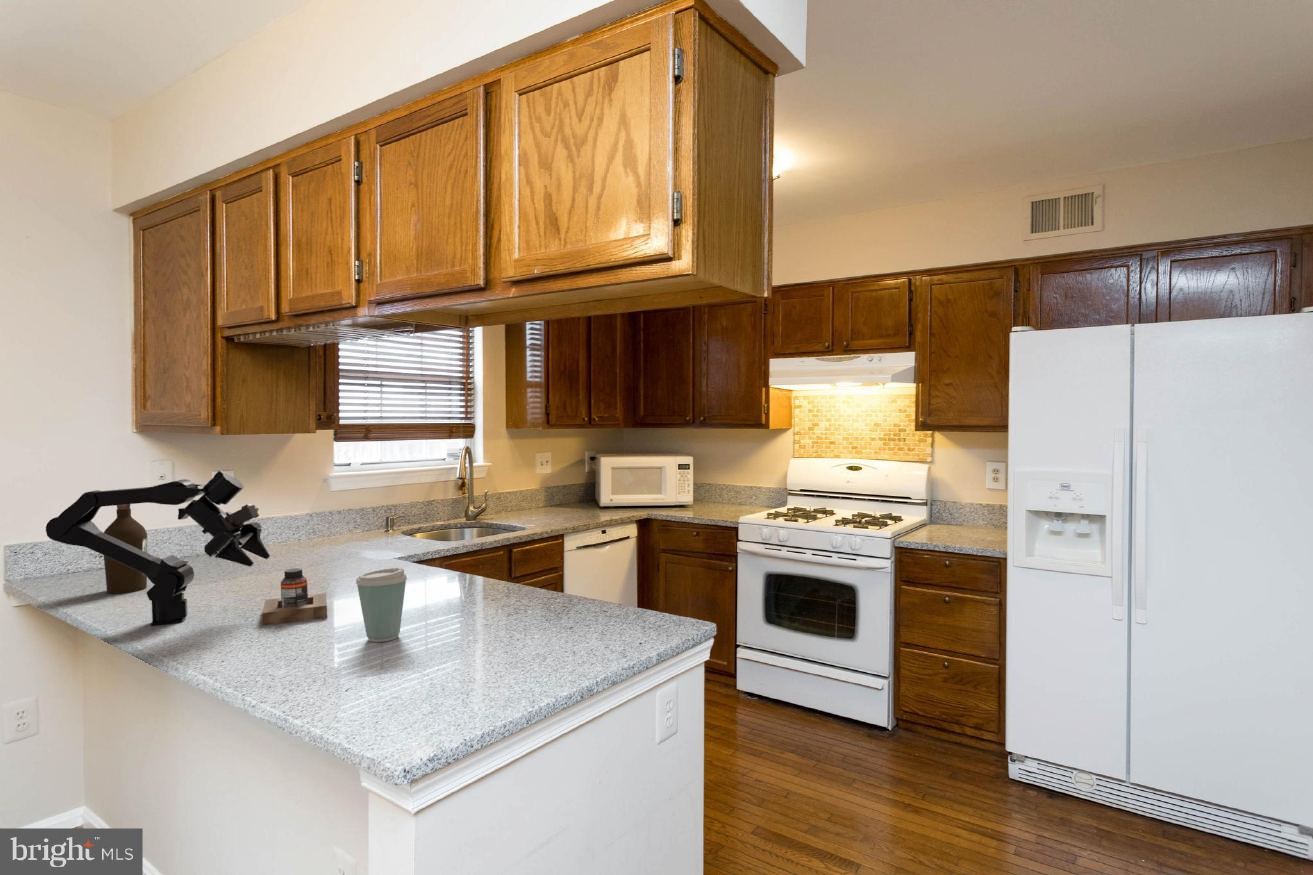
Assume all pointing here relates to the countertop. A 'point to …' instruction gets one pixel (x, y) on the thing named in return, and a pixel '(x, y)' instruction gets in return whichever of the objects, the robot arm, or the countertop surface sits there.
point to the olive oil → (134, 535)
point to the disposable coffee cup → (382, 602)
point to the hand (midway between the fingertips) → (260, 561)
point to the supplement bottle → (294, 588)
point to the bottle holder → (294, 610)
